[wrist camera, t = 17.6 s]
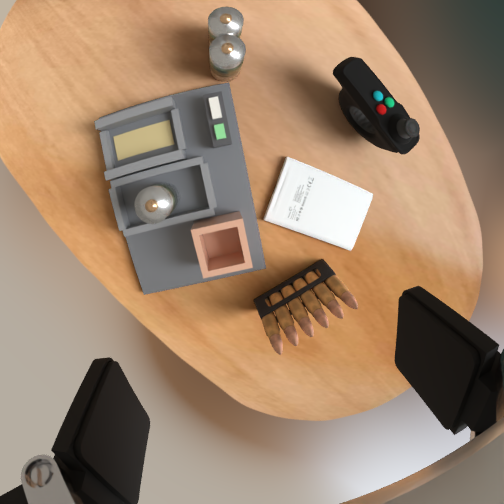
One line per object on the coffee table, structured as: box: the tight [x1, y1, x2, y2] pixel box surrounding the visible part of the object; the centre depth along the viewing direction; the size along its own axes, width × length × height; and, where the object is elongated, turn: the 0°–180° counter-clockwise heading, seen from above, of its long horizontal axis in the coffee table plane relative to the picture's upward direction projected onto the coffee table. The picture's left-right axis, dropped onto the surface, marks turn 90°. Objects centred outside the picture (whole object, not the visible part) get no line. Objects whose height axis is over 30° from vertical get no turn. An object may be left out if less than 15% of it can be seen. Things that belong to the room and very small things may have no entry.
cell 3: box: [209, 35, 246, 82], centre depth 27 cm, size 4×4×7 cm
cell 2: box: [208, 7, 243, 45], centre depth 26 cm, size 4×4×7 cm
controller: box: [333, 57, 420, 154], centre depth 29 cm, size 4×12×10 cm, turn 43°
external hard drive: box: [263, 157, 373, 251], centre depth 36 cm, size 2×8×12 cm
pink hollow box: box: [191, 211, 253, 279], centre depth 33 cm, size 5×5×5 cm
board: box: [94, 83, 266, 295], centre depth 32 cm, size 23×16×4 cm
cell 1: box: [134, 183, 180, 224], centre depth 30 cm, size 4×4×7 cm
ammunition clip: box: [254, 259, 358, 355], centre depth 34 cm, size 11×2×12 cm, turn 120°
